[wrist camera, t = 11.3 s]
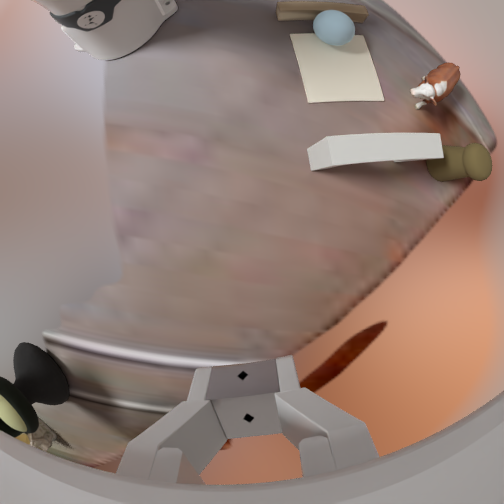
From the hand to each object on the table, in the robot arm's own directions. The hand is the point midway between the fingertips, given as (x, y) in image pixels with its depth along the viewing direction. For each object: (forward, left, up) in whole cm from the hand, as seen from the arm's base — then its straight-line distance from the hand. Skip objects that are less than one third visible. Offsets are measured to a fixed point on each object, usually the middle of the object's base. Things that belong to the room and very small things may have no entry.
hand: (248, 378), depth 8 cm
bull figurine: (-18, +31, -29) cm, 46 cm away
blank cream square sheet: (-22, +17, -29) cm, 40 cm away
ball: (-28, +17, -26) cm, 42 cm away
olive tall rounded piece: (-6, +32, -29) cm, 44 cm away
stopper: (-32, +17, -29) cm, 47 cm away
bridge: (-8, +17, -29) cm, 35 cm away
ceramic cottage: (+47, -79, -30) cm, 96 cm away
